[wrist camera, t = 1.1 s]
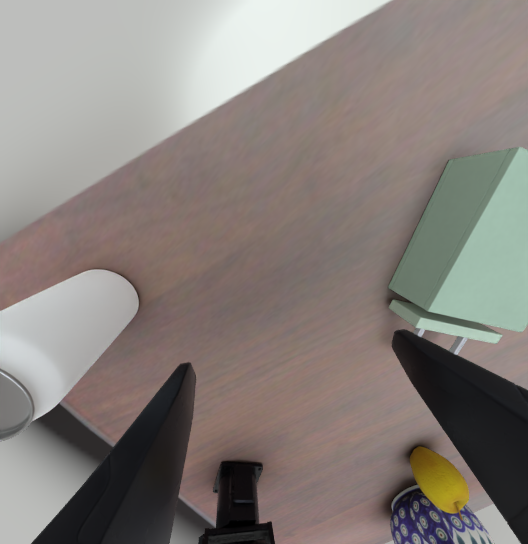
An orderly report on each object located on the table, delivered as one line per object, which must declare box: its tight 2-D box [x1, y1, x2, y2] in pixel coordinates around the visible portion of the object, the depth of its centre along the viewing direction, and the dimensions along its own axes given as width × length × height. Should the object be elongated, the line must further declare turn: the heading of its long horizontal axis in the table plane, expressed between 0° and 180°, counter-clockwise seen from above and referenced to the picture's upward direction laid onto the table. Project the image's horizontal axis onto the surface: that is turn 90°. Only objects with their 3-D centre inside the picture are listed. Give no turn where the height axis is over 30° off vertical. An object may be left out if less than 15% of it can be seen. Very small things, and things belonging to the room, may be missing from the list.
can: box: [0, 269, 139, 441], centre depth 16 cm, size 6×6×12 cm
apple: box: [410, 446, 469, 521], centre depth 33 cm, size 6×6×8 cm
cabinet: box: [388, 147, 528, 332], centre depth 22 cm, size 14×12×6 cm
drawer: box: [389, 299, 502, 355], centre depth 23 cm, size 18×11×4 cm, turn 164°
